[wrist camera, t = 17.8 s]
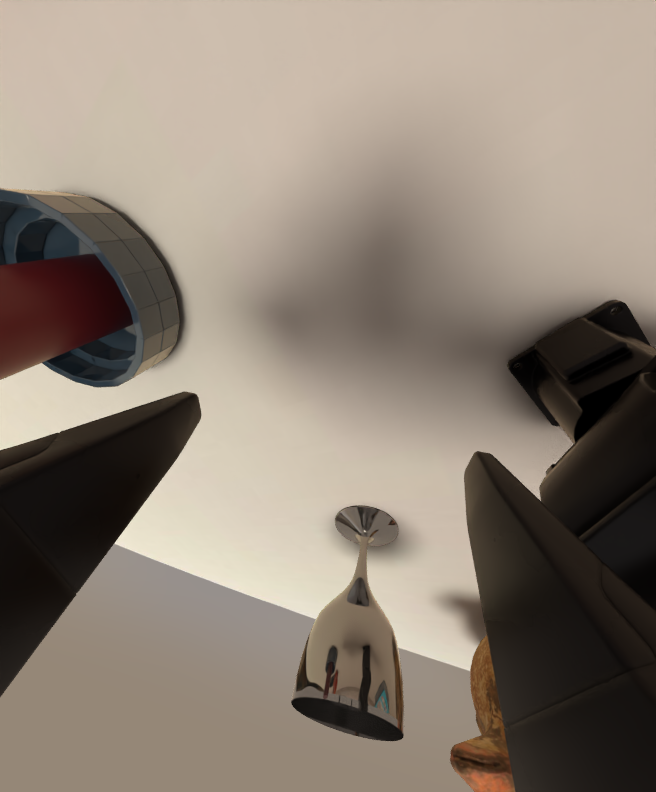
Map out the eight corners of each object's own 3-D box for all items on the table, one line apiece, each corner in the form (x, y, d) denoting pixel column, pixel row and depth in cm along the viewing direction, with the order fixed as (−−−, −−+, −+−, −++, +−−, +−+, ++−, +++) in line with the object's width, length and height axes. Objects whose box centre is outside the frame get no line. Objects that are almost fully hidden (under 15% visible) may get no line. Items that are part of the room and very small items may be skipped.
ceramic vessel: (480, 555, 31) (641, 1238, 10) (689, 647, 32) (1220, 1445, 11) (400, 607, 41) (401, 1015, 20) (562, 677, 42) (723, 1136, 21)
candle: (152, 314, 23) (-75, 406, 12) (109, 336, 25) (-118, 432, 14) (101, 240, 20) (-241, 271, 10) (58, 272, 23) (-263, 327, 12)
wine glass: (398, 552, 34) (398, 749, 21) (332, 541, 35) (296, 717, 23) (405, 509, 30) (410, 722, 17) (330, 498, 31) (284, 686, 19)
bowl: (211, 295, 22) (173, 312, 18) (148, 387, 28) (110, 413, 24) (51, 143, 18) (-37, 125, 15) (22, 287, 25) (-45, 300, 21)
